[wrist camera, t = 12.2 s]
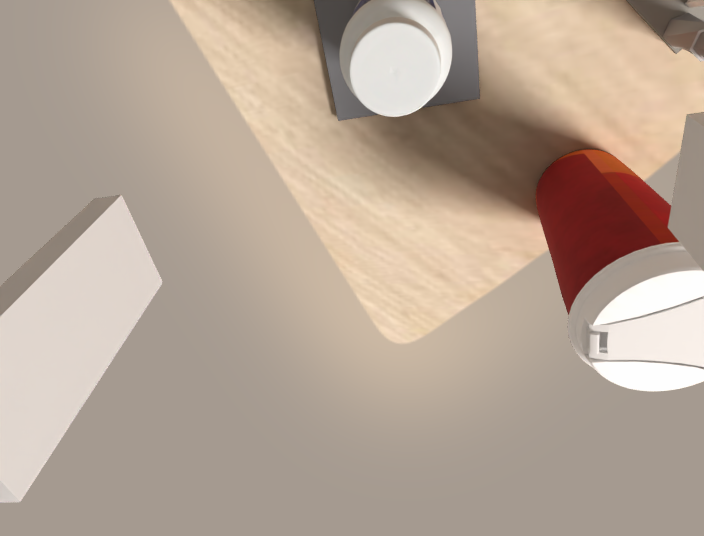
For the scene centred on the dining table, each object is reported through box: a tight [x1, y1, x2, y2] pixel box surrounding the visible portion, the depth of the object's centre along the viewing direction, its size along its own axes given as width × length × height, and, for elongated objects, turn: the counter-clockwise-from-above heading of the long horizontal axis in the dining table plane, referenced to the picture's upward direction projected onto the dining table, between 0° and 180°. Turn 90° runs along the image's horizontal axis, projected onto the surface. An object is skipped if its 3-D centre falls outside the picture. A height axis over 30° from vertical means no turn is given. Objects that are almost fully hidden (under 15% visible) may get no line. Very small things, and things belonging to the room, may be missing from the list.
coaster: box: [314, 0, 480, 121], centre depth 31 cm, size 9×9×1 cm
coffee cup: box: [536, 149, 704, 391], centre depth 30 cm, size 8×8×15 cm
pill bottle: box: [340, 0, 452, 117], centre depth 27 cm, size 5×5×10 cm
